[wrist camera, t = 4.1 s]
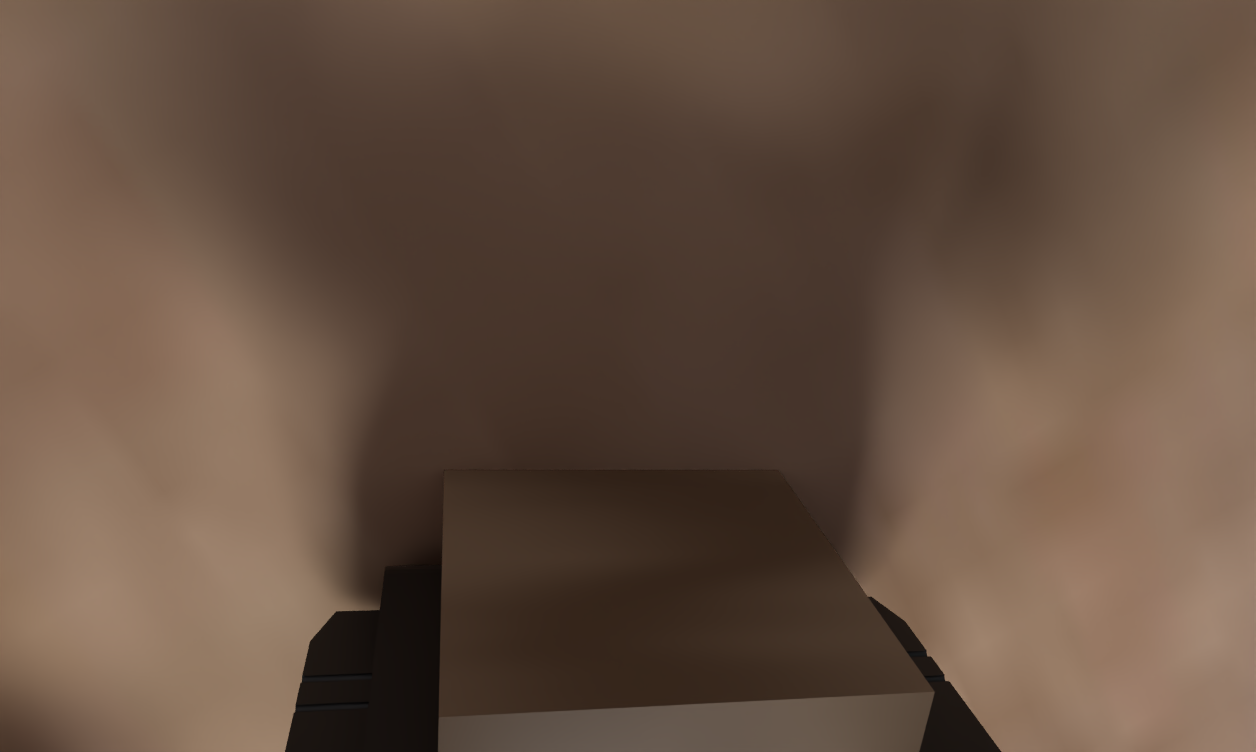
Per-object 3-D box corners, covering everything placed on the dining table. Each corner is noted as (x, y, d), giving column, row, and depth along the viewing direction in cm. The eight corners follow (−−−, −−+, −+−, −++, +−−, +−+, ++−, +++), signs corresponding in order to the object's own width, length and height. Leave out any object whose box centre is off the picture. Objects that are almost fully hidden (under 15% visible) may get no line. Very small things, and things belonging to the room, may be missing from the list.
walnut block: (776, 469, 11) (935, 691, 8) (734, 728, 13) (848, 1023, 9) (444, 468, 10) (438, 716, 7) (438, 745, 12) (430, 1075, 8)
